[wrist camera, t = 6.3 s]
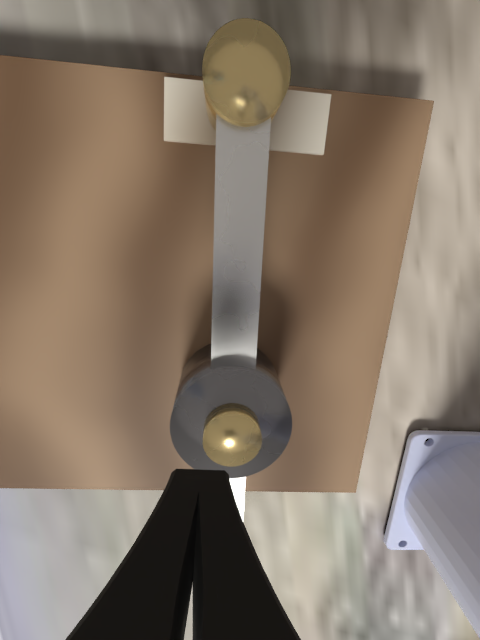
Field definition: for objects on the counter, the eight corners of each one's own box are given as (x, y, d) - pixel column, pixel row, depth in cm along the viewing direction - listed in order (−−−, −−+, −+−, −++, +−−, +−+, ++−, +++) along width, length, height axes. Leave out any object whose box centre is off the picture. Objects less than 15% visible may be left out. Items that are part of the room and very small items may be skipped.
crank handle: (269, 486, 17) (284, 564, 13) (180, 487, 17) (168, 567, 13) (302, 75, 12) (342, 7, 8) (177, 65, 12) (158, -10, 8)
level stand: (412, 113, 14) (437, 98, 13) (345, 472, 19) (357, 496, 18) (-100, 60, 13) (-148, 36, 11) (-29, 465, 18) (-55, 491, 16)
